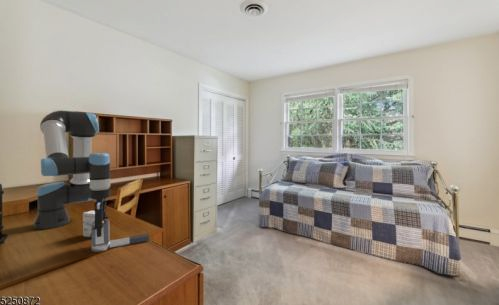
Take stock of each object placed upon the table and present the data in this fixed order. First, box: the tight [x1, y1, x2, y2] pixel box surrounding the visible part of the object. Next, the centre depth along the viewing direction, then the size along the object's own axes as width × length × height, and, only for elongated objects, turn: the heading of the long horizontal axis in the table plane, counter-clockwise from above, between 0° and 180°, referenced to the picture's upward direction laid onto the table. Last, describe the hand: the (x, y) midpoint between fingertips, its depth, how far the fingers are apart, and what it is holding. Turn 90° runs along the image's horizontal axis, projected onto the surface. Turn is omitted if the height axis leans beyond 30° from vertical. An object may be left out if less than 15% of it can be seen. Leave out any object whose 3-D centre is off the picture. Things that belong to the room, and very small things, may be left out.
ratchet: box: [91, 233, 150, 253], centre depth 101 cm, size 22×7×6 cm, turn 118°
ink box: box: [82, 210, 95, 238], centre depth 111 cm, size 8×5×12 cm, turn 74°
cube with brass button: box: [91, 218, 111, 248], centre depth 97 cm, size 6×6×9 cm
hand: (101, 238), depth 97 cm, fingers open, 10 cm apart
